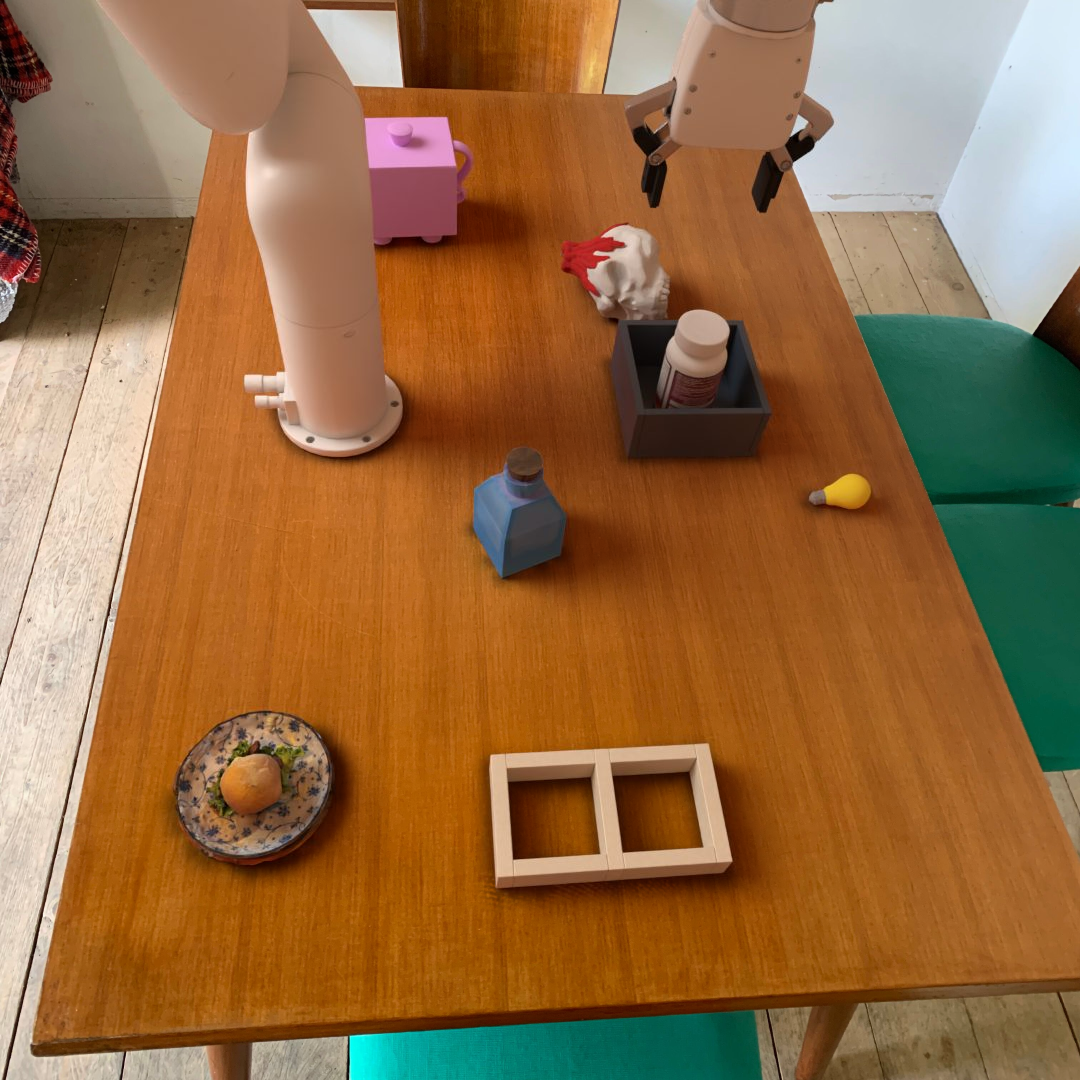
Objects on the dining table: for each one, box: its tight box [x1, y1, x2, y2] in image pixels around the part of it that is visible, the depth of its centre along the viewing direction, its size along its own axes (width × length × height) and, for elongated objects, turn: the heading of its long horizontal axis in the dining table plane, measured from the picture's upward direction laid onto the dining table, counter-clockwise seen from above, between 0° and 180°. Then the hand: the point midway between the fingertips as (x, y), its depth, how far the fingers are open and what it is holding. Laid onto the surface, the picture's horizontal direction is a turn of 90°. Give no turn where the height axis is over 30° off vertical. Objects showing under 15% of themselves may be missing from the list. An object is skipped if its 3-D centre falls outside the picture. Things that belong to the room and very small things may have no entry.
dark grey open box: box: [609, 319, 773, 459], centre depth 97 cm, size 14×14×7 cm
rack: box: [488, 742, 733, 889], centre depth 71 cm, size 18×9×3 cm, turn 95°
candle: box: [560, 222, 671, 320], centre depth 106 cm, size 9×11×15 cm
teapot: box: [364, 116, 475, 246], centre depth 109 cm, size 20×10×12 cm, turn 99°
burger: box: [172, 709, 336, 866], centre depth 69 cm, size 12×12×8 cm
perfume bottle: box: [472, 446, 568, 579], centre depth 83 cm, size 6×6×12 cm
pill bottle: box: [654, 309, 730, 409], centre depth 94 cm, size 6×6×11 cm
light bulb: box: [808, 473, 872, 510], centre depth 92 cm, size 3×6×4 cm, turn 94°
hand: (705, 201), depth 80 cm, fingers open, 9 cm apart
